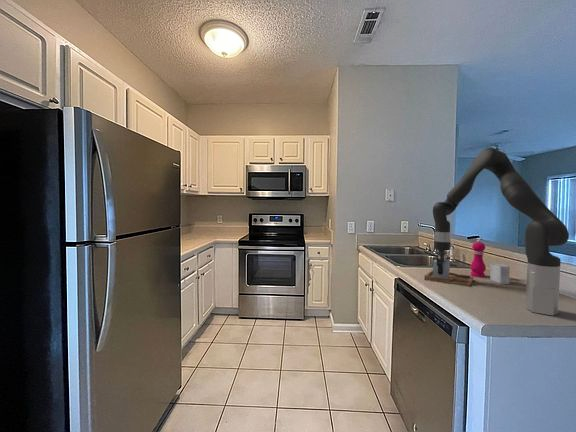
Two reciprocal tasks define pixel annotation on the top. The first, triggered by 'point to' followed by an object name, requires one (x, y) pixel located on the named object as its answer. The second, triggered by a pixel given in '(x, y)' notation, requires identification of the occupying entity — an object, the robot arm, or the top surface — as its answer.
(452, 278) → the wooden serving tray
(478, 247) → the pepper mill
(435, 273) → the panel block
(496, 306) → the top surface
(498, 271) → the medicine box
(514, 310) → the top surface
